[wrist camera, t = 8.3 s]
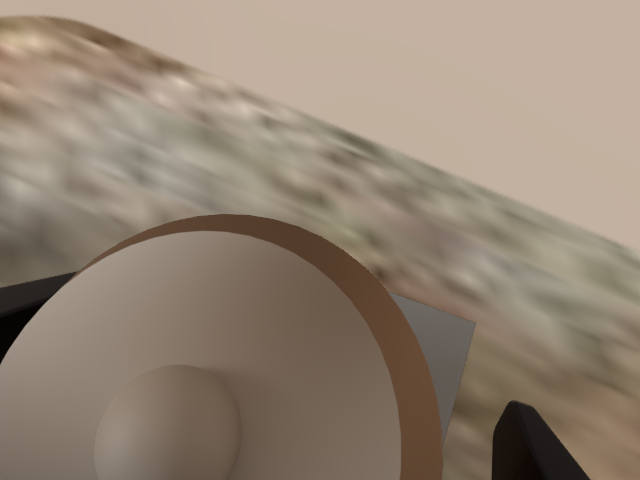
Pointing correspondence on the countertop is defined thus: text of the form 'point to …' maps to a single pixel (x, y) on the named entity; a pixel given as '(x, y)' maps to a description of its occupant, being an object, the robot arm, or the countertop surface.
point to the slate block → (440, 349)
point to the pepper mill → (219, 365)
